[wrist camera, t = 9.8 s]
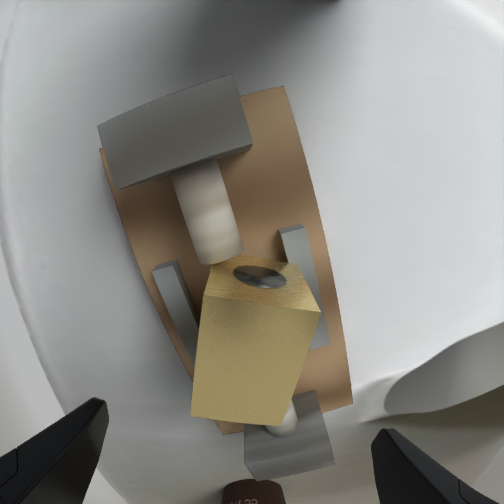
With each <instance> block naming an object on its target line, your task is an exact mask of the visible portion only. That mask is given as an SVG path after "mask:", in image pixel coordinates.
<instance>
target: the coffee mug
mask: <svg viewBox="0 0 504 504" xmlns="http://www.w3.org/2000/svg"><path fill="white" fill-rule="evenodd" d="M221 504H286V502H285V499H284V495H283V491H282V488H281V486H280V485H279V484H278V483H276V482H273V481H269V480H262V481H256V480H255V479H247V480H240V481H236V482H233V483H230V484H228V485H227V486H226V487H225V488H224V492H223V497H222V503H221Z"/></svg>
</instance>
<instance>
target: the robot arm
mask: <svg viewBox="0 0 504 504" xmlns="http://www.w3.org/2000/svg"><path fill="white" fill-rule="evenodd" d="M108 423H109V415H108V409H107V404H106V401H105V400H102V399H99V398H95V397H93V398H91V399H90V400H88V401H87V402H85V403H84V404H82V405H81V406H79V407H78V408H76V409H75V410H73V411H72V412H70V413H69V414H67V415H66V416H64V417H63V418H61V419H60V420H58V421H57V422H55V423H54V424H52V425H51V426H49V427H47V428H46V429H44V430H43V431H41V432H40V433H38V434H37V435H35V436H34V437H32V438H30V439H29V440H27V441H26V442H24V443H23V444H21V445H20V446H18V447H17V448H15V449H13V450H11V451H10V452H8V453H6V454H5V455H3V456H1V457H0V504H82V503H83V500H84V497H85V494H86V492H87V489H88V487H89V484H90V481H91V479H92V476H93V474H94V471H95V468H96V466H97V463H98V461H99V457H100V453H101V449H102V445H103V441H104V438H105V434H106V430H107V427H108ZM371 452H372V459H373V467H374V475H375V482H376V487H377V491H378V496H379V500H380V504H499V503H497V502H495V501H493V500H491V499H490V498H488V497H486V496H484V495H483V494H481V493H479V492H478V491H476V490H474V489H473V488H471V487H470V486H468V485H467V484H466V483H464V482H463V481H461V480H460V479H458V478H457V477H456V476H455V475H453V474H452V473H451V472H449V471H448V470H447V469H445V468H444V467H443V466H441V465H440V464H439V463H437V462H436V461H435V460H434V459H432V458H431V457H430V456H428V455H427V454H426V453H424V452H423V451H422V450H421V449H419V448H418V447H417V446H416V445H414V444H413V443H412V442H410V441H409V440H408V439H407V438H405V437H404V436H403V435H402V434H400V433H399V432H398V431H397V430H395V429H394V428H392V427H390V428H383V429H381V430H380V431H379V433H378V434H377V436H376V437H375V439H374V440H373V442H372V444H371Z"/></svg>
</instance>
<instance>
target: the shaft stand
mask: <svg viewBox="0 0 504 504" xmlns="http://www.w3.org/2000/svg"><path fill="white" fill-rule="evenodd" d="M97 127H98V131H99V135H100V139H101V143H102V146H103V147H102V148H100V149H99V151H100V154H101V158H102V161H103V165H104V168H105V172H106V175H107V178H108V181H109V185H110V188H111V191H112V194H113V197H114V200H115V203H116V206H117V209H118V212H119V215H120V218H121V221H122V224H123V226H124V229H125V232H126V235H127V237H128V240H129V243H130V245H131V248H132V251H133V253H134V256H135V258H136V261H137V263H138V266H139V268H140V271H141V273H142V276H143V278H144V281H145V283H146V285H147V288H148V290H149V293H150V295H151V297H152V299H153V302H154V304H155V306H156V308H157V311H158V313H159V315H160V317H161V319H162V322H163V324H164V326H165V328H166V330H167V332H168V334H169V336H170V339H171V341H172V343H173V345H174V347H175V349H176V351H177V353H178V355H179V357H180V359H181V361H182V363H183V365H184V367H185V368H186V370H187V372H188V374H189V376H190V378H191V380H192V382H193V380H194V371H195V361H196V352H197V344H198V335H199V327H200V319H201V311H202V303H203V295H204V291H205V288H206V284H207V281H208V277H209V274H210V270H211V267H212V264H215V263H219V262H222V261H225V260H228V259H230V258H232V257H235V256H236V255H238V254H239V255H245V256H251V257H257V258H263V259H269V260H275V261H281V262H287V263H293V264H297V265H298V267H299V269H300V271H301V273H302V275H303V277H304V279H305V281H306V283H307V285H308V287H309V289H310V291H311V293H312V295H313V297H314V299H315V301H316V303H317V305H318V307H319V309H320V311H321V314H320V317H319V320H318V323H317V326H316V329H315V333H314V336H313V339H312V342H311V345H310V348H309V351H308V354H307V357H306V360H305V362H304V365H303V368H302V371H301V374H300V377H299V379H298V382H297V385H296V388H295V390H294V393H293V396H292V398H291V401H290V404H289V406H288V409H287V411H286V414H285V417H284V419H283V422H282V424H281V426H272V425H259V424H247V423H238V422H229V421H221V420H214V421H215V422H216V424H217V426H218V427H219V429H220V431H221V432H222V434H223V435H224V434H230V433H236V432H242V431H244V464H245V465H246V467H247V468H248V470H249V471H250V473H251V474H252V476H253V477H254V479H255V480H256V481H262V480H268V479H273V478H279V477H284V476H289V475H294V474H298V473H303V472H307V471H311V470H315V469H319V468H323V467H327V466H330V465H334V464H335V463H334V458H333V453H332V448H331V444H330V440H329V437H328V433H327V430H326V426H325V423H324V419H323V416H322V413H324V412H327V411H331V410H334V409H337V408H340V407H344V406H347V405H350V404H353V398H352V390H351V382H350V374H349V367H348V360H347V353H346V346H345V340H344V334H343V328H342V322H341V316H340V310H339V304H338V299H337V294H336V288H335V283H334V278H333V273H332V268H331V263H330V258H329V254H328V249H327V244H326V240H325V235H324V231H323V226H322V222H321V218H320V214H319V209H318V205H317V201H316V197H315V193H314V189H313V185H312V181H311V178H310V174H309V170H308V166H307V163H306V159H305V155H304V152H303V148H302V145H301V141H300V138H299V134H298V131H297V127H296V124H295V121H294V117H293V114H292V111H291V108H290V105H289V101H288V98H287V95H286V92H285V89H284V86H280V87H276V88H271V89H267V90H263V91H259V92H255V93H251V94H247V95H243V96H240V97H239V94H238V91H237V88H236V84H235V81H234V78H233V75H229V76H225V77H222V78H218V79H215V80H211V81H208V82H205V83H202V84H199V85H196V86H193V87H190V88H187V89H184V90H181V91H178V92H175V93H173V94H170V95H167V96H165V97H162V98H159V99H157V100H154V101H152V102H149V103H147V104H144V105H142V106H140V107H137V108H135V109H132V110H130V111H128V112H126V113H123V114H121V115H119V116H117V117H115V118H113V119H110V120H108V121H106V122H104V123H102V124H100V125H98V126H97Z"/></svg>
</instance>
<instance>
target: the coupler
mask: <svg viewBox="0 0 504 504" xmlns="http://www.w3.org/2000/svg"><path fill="white" fill-rule="evenodd" d="M320 314H321V311H320V309H319V307H318V305H317V303H316V301H315V299H314V297H313V295H312V293H311V291H310V289H309V287H308V285H307V283H306V281H305V279H304V277H303V275H302V273H301V271H300V269H299V267H298V265H297V264H293V263H287V262H281V261H275V260H269V259H263V258H257V257H251V256H245V255H239V254H238V255H236V256H235V257H232V258H230V259H228V260H225V261H222V262H219V263H215V264H212V267H211V270H210V274H209V277H208V281H207V284H206V288H205V291H204V295H203V303H202V311H201V319H200V327H199V335H198V344H197V352H196V361H195V371H194V380H193V390H192V401H191V412H190V416H194V417H200V418H207V419H214V420H221V421H229V422H238V423H247V424H259V425H272V426H281V424H282V422H283V419H284V417H285V414H286V411H287V409H288V406H289V404H290V401H291V398H292V396H293V393H294V390H295V388H296V385H297V382H298V379H299V377H300V374H301V371H302V368H303V365H304V362H305V360H306V357H307V354H308V351H309V348H310V345H311V342H312V339H313V336H314V333H315V329H316V326H317V323H318V320H319V317H320Z"/></svg>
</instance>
